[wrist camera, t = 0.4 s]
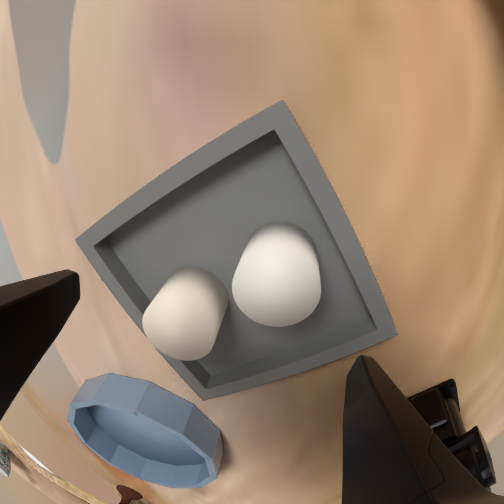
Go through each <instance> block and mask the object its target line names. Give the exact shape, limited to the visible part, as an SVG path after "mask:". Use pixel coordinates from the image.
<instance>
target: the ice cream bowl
mask: <svg viewBox="0 0 504 504" xmlns="http://www.w3.org/2000/svg"><path fill="white" fill-rule="evenodd" d="M116 489H117V490H118V491H119V493H120V494H121V495H122V499H121V502H120V503H119V504H129V503H130V501H131V500H139V499H141V498H142V496H141V494H140V493H138V492H136V491H135V490H133V489H130V488H128V487H125V486H121V485H118V486H116Z"/></svg>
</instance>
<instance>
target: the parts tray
mask: <svg viewBox="0 0 504 504" xmlns="http://www.w3.org/2000/svg"><path fill="white" fill-rule="evenodd" d="M272 222H288V223H292V224H295V225H297V226H299V227H301V228H302V229H304V230H305V231H306V232H307V233H308V234H309V235H310V236H311V237H312V239H313V241H314V243H315V245H316V248H317V254H318V263H319V272H320V282H321V296H320V300H319V303H318V305H317V307H316V308H315V310H314V311H313V312H312V313H311V314H310V315H309V316H308V317H307V318H305V319H304V320H302V321H300V322H298V323H296V324H293V325H289V326H283V327H273V326H267V325H263V324H260V323H258V322H255V321H254V320H252V319H250V318H249V317H248V316H246V315H245V314H244V313H243V312H242V311H241V310H240V308H239V307H238V305H237V304H236V302H235V300H234V297H233V293H232V281H233V277H234V274H235V272H236V269H237V266H238V264H239V261H240V259H241V256H242V254H243V251H244V249H245V246H246V243H247V241H248V239H249V238H250V236H251V235H252V234H253V233H254V232H255V231H256V230H257V229H258V228H260V227H262V226H263V225H266V224H269V223H272ZM75 241H76V242H77V244H78V245H79V247H80V248H81V250H82V251H83V253H84V254H85V256H86V257H87V259H88V260H89V262H90V263H91V265H92V266H93V267H94V269H95V270H96V272H97V273H98V275H99V276H100V277H101V279H102V280H103V282H104V283H105V284H106V286H107V287H108V288H109V290H110V291H111V292H112V294H113V295H114V297H115V298H116V299H117V301H118V302H119V303H120V304H121V306H122V307H123V308H124V310H125V311H126V312H127V314H128V315H129V316H130V317H131V319H132V320H133V321H134V322H135V324H136V325H137V326H138V327H139V329H140V330H141V331H142V332H143V334H144V335H145V332H144V329H143V325H142V319H143V315H144V312H145V310H146V309H147V308H148V306H149V305H150V303H151V302H152V301H153V299H154V298H155V296H156V295H157V294H158V292H159V291H160V290H161V288H162V287H163V285H164V284H165V283H166V281H167V280H168V279H169V277H170V276H171V275H172V274H173V273H174V272H175V271H177V270H179V269H181V268H185V267H198V268H202V269H204V270H207V271H209V272H211V273H212V274H214V275H215V276H216V277H217V278H218V279H219V280H220V281H221V282H222V283H223V285H224V286H225V288H226V291H227V294H228V306H227V309H226V312H225V314H224V317H223V320H222V323H221V325H220V328H219V331H218V334H217V336H216V339H215V342H214V345H213V347H212V349H211V351H210V352H209V353H208V354H207V355H206V356H204V357H203V358H200V359H197V360H191V361H185V360H178V359H175V358H172V357H169V356H167V355H165V354H164V353H162V352H160V351H159V350H158V349H157V348H156V349H157V350H158V352H159V353H160V354H161V355H162V356H163V357H164V358H165V360H166V361H167V362H168V363H169V364H170V365H171V366H172V368H173V369H174V370H175V371H176V372H177V373H178V374H179V375H180V376H181V378H182V379H183V380H184V381H185V382H186V383H187V384H188V385H189V386H190V387H191V388H192V389H193V391H194V392H195V393H196V394H197V395H198V396H199V397H200V398H201V399H202V400H203V401H204V400H208V399H212V398H216V397H220V396H224V395H227V394H231V393H235V392H239V391H242V390H246V389H249V388H253V387H256V386H260V385H263V384H266V383H270V382H273V381H276V380H279V379H282V378H286V377H289V376H292V375H295V374H298V373H301V372H304V371H307V370H310V369H312V368H315V367H318V366H321V365H324V364H326V363H329V362H332V361H335V360H337V359H340V358H343V357H345V356H348V355H350V354H353V353H355V352H358V351H360V350H363V349H365V348H368V347H370V346H373V345H375V344H378V343H380V342H382V341H385V340H387V339H389V338H391V337H394V336H396V335H398V334H397V331H396V328H395V325H394V323H393V320H392V317H391V315H390V312H389V310H388V307H387V305H386V302H385V300H384V297H383V295H382V293H381V290H380V288H379V286H378V283H377V281H376V278H375V276H374V274H373V272H372V269H371V267H370V265H369V263H368V260H367V258H366V256H365V254H364V251H363V249H362V247H361V245H360V243H359V241H358V238H357V236H356V234H355V232H354V230H353V228H352V226H351V224H350V222H349V220H348V218H347V215H346V213H345V211H344V209H343V207H342V205H341V203H340V201H339V199H338V197H337V195H336V193H335V192H334V190H333V188H332V186H331V184H330V182H329V180H328V178H327V176H326V174H325V172H324V170H323V169H322V167H321V165H320V163H319V161H318V159H317V158H316V156H315V154H314V152H313V150H312V148H311V147H310V145H309V143H308V141H307V140H306V138H305V136H304V134H303V133H302V131H301V129H300V127H299V126H298V124H297V122H296V120H295V119H294V117H293V115H292V114H291V112H290V110H289V109H288V107H287V105H286V104H285V102H284V101H283V100H281V101H279V102H277V103H275V104H274V105H272V106H270V107H268V108H266V109H265V110H263V111H261V112H259V113H258V114H256V115H254V116H252V117H251V118H249V119H247V120H245V121H244V122H242V123H240V124H239V125H237V126H235V127H234V128H232V129H230V130H229V131H227V132H225V133H224V134H222V135H220V136H219V137H217V138H215V139H214V140H212V141H211V142H209V143H207V144H206V145H204V146H203V147H201V148H200V149H198V150H197V151H195V152H193V153H192V154H190V155H189V156H187V157H186V158H184V159H183V160H181V161H180V162H178V163H177V164H175V165H174V166H172V167H171V168H169V169H168V170H166V171H165V172H164V173H162V174H161V175H159V176H158V177H156V178H155V179H154V180H152V181H151V182H149V183H148V184H147V185H145V186H144V187H142V188H141V189H140V190H138V191H137V192H135V193H134V194H133V195H131V196H130V197H129V198H127V199H126V200H125V201H123V202H122V203H121V204H119V205H118V206H117V207H115V208H114V209H113V210H111V211H110V212H109V213H108V214H106V215H105V216H104V217H102V218H101V219H100V220H99V221H97V222H96V223H95V224H94V225H92V226H91V227H90V228H89V229H87V230H86V231H85V232H84V233H83V234H81V235H80V236H79V237H78V238H76V239H75ZM145 336H146V335H145ZM146 337H147V336H146Z"/></svg>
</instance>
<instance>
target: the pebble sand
mask: <svg viewBox="0 0 504 504" xmlns="http://www.w3.org/2000/svg"><path fill="white" fill-rule="evenodd" d="M227 306H228V294H227V291H226V288H225V286H224V285H223V283H222V282H221V281H220V280H219V279H218V278H217V277H216V276H215V275H214V274H212V273H211V272H209V271H207V270H204V269H202V268H198V267H185V268H181V269H179V270H177V271H175V272H174V273H173V274H172V275H171V276H170V277H169V279H168V280H167V281H166V283H165V284H164V285H163V287H162V288H161V290H160V291H159V292H158V294H157V295H156V296H155V298H154V299H153V301H152V302H151V303H150V305H149V306H148V308H147V309H146V310H145V312H144V315H143V319H142V325H143V329H144V332H145V335H146V336H147V338H148V340H149V341H150V342H151V344H152V345H153V346H154V347H155V348H157V349H158V350H159V351H160V352H162V353H164V354H165V355H167V356H169V357H172V358H175V359H178V360H185V361H191V360H197V359H200V358H203V357H204V356H206V355H207V354H208V353H209V352H210V351H211V349H212V347H213V345H214V342H215V339H216V336H217V334H218V331H219V328H220V325H221V323H222V320H223V317H224V314H225V312H226V309H227Z"/></svg>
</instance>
